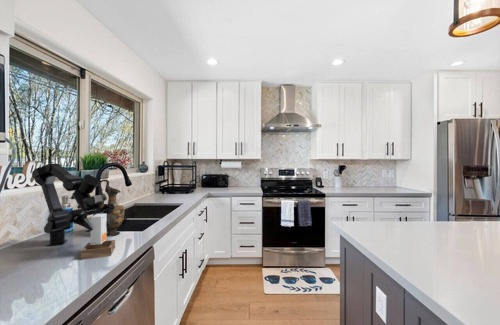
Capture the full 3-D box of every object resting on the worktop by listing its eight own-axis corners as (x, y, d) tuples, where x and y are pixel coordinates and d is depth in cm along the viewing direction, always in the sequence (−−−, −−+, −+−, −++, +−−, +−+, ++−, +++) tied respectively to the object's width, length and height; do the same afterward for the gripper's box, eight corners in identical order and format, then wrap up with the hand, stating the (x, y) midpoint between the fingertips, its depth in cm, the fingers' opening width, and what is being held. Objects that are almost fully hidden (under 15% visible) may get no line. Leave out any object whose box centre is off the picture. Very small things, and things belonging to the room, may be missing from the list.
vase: (121, 236, 127) (120, 179, 126) (94, 238, 124) (94, 180, 124) (127, 230, 138) (126, 178, 138) (103, 231, 135) (102, 178, 135)
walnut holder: (88, 250, 107) (88, 242, 107) (115, 247, 111) (115, 239, 111) (81, 259, 97) (81, 251, 97) (111, 255, 101) (110, 247, 101)
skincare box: (101, 244, 102) (101, 216, 102) (90, 245, 101) (89, 216, 101) (107, 239, 108) (106, 213, 108) (96, 240, 107) (96, 213, 107)
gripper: (69, 190, 97) (87, 221, 93) (112, 186, 114) (128, 211, 110) (58, 208, 100) (74, 238, 96) (101, 201, 117) (117, 226, 113)
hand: (100, 227), depth 104 cm, fingers closed on skincare box, 7 cm apart
